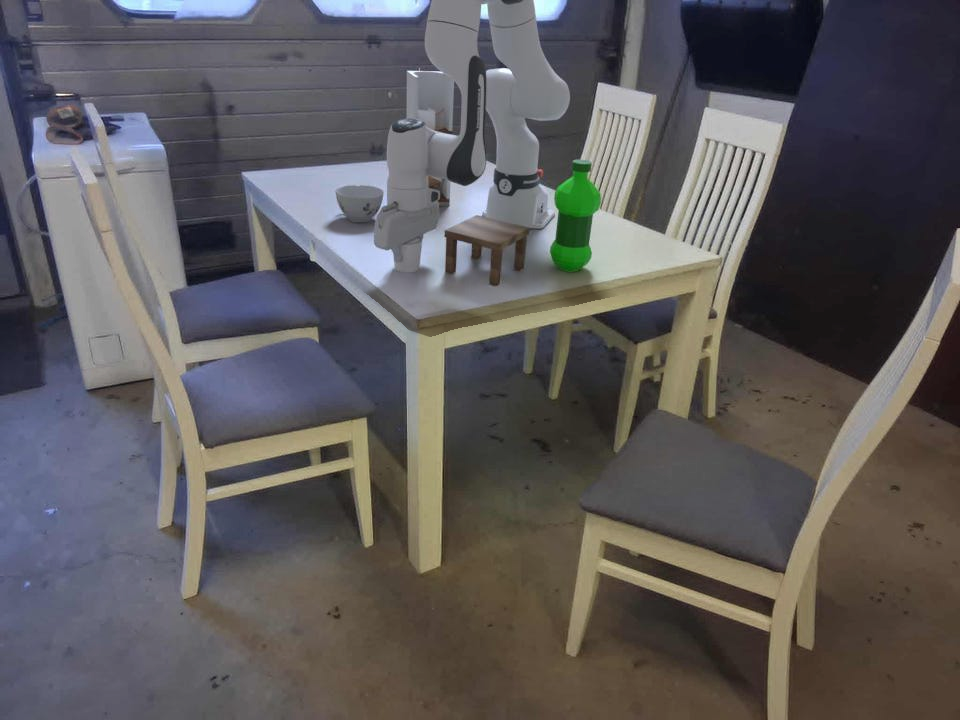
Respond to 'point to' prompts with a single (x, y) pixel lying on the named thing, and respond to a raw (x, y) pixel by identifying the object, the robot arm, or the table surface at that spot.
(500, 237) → the wooden stool
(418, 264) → the white cup
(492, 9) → the robot arm
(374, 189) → the teacup
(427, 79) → the display case
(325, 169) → the table surface
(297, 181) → the table surface
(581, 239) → the plastic bottle
